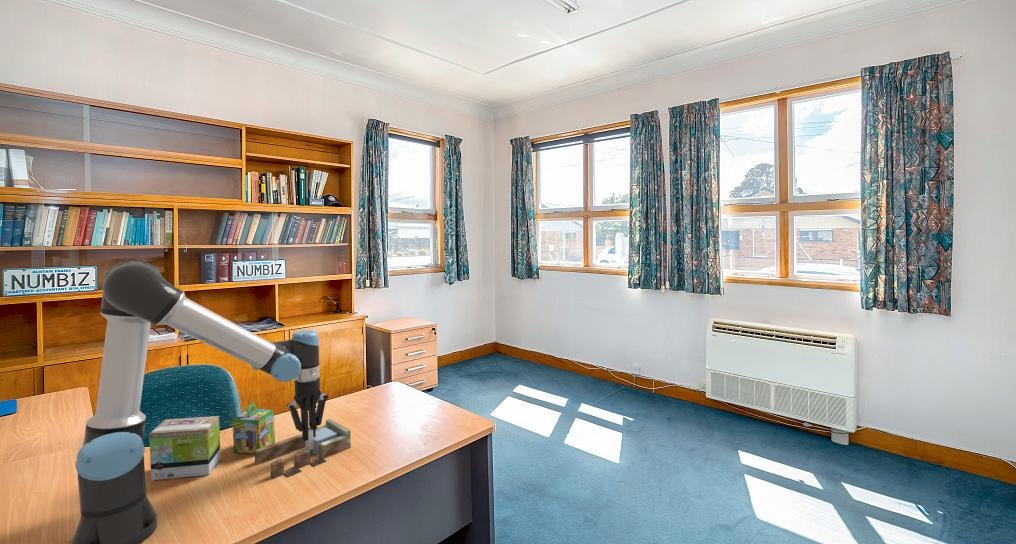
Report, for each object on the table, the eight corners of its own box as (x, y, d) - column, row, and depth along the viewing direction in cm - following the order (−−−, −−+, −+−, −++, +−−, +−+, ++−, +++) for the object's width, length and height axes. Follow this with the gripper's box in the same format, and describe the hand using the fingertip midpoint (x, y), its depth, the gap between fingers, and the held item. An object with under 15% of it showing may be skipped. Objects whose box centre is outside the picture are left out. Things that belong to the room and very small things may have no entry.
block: (317, 455, 145) (316, 441, 145) (306, 448, 150) (306, 434, 149) (337, 447, 151) (336, 433, 150) (326, 441, 155) (326, 427, 155)
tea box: (150, 482, 129) (147, 433, 127) (166, 464, 138) (163, 418, 137) (209, 475, 133) (207, 427, 131) (221, 458, 142) (219, 414, 141)
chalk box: (259, 455, 145) (257, 410, 144) (232, 453, 146) (230, 409, 144) (276, 441, 154) (274, 400, 153) (250, 440, 155) (249, 398, 154)
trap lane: (277, 481, 130) (276, 461, 130) (254, 462, 141) (254, 444, 140) (354, 449, 150) (354, 432, 149) (329, 435, 160) (329, 418, 159)
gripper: (292, 386, 137) (295, 460, 140) (332, 376, 147) (334, 444, 150) (281, 381, 142) (284, 452, 144) (320, 371, 152) (322, 437, 154)
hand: (309, 448), depth 147 cm, fingers closed
